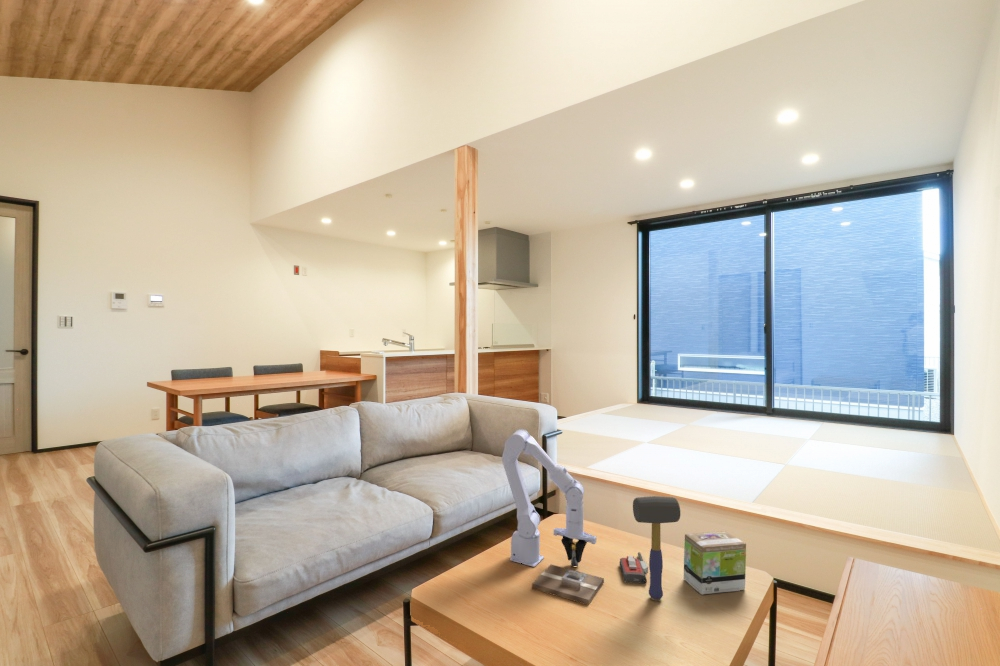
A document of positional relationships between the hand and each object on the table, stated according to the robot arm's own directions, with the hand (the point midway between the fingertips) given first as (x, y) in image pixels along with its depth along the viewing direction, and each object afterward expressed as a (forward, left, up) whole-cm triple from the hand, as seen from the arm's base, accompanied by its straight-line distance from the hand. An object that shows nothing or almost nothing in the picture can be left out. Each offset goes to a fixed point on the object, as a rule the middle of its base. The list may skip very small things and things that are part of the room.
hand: (574, 560), depth 163 cm
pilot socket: (+5, -13, 0) cm, 14 cm away
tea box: (+42, +10, -2) cm, 43 cm away
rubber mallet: (+28, -7, -2) cm, 29 cm away
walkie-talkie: (+18, +8, -2) cm, 20 cm away
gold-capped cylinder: (0, 0, -2) cm, 2 cm away
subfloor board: (+3, -13, -2) cm, 13 cm away
